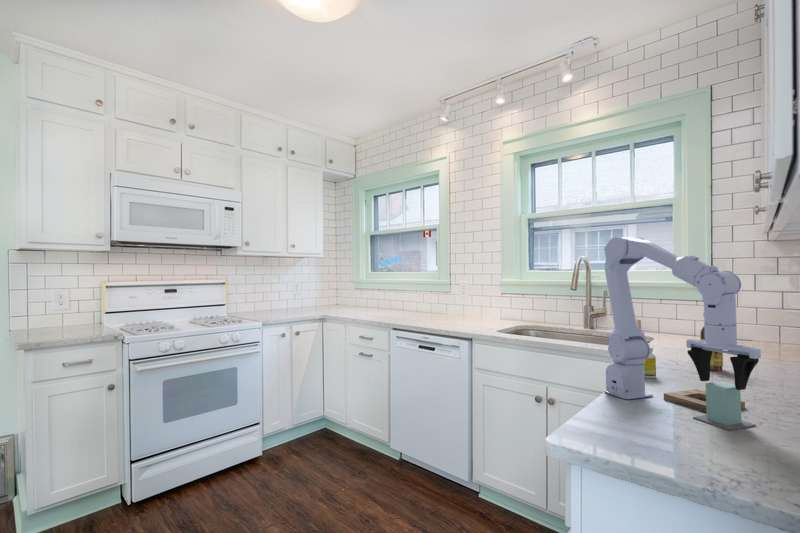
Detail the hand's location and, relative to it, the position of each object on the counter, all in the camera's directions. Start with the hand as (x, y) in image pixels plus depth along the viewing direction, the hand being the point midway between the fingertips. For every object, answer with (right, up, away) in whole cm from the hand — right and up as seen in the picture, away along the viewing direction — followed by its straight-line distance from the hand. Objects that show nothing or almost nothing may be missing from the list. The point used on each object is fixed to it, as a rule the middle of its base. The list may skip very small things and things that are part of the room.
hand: (722, 384), depth 91 cm
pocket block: (+5, -9, +13) cm, 16 cm away
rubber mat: (0, -8, 0) cm, 8 cm away
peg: (0, -8, 0) cm, 8 cm away
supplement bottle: (+8, -10, +42) cm, 44 cm away
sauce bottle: (+37, -10, +51) cm, 63 cm away
